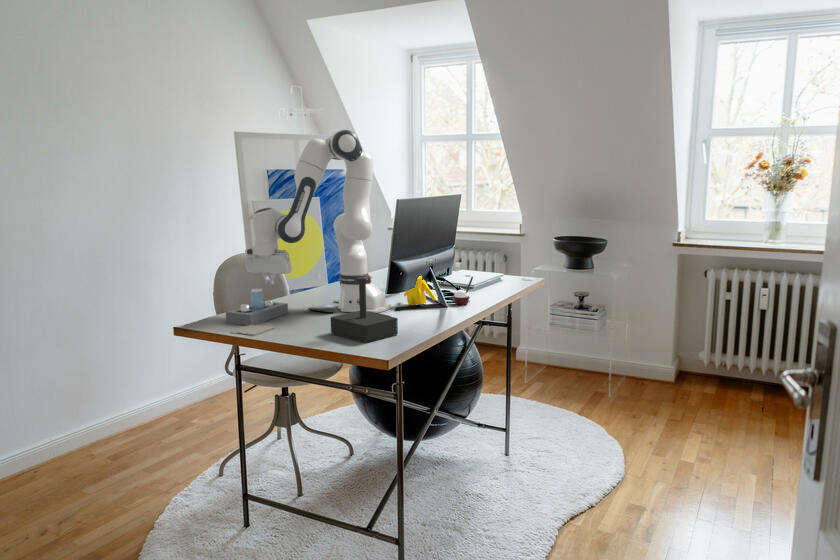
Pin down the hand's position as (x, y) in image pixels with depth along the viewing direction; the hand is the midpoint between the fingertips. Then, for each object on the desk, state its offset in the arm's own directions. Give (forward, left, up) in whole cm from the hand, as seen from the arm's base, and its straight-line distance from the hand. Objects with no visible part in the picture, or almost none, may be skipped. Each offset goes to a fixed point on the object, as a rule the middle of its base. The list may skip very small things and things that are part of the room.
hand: (270, 284), depth 251 cm
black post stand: (-51, +13, -13) cm, 54 cm away
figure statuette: (-46, -37, -12) cm, 61 cm away
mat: (-11, +25, -12) cm, 30 cm away
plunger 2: (+1, +1, -11) cm, 11 cm away
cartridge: (+1, +8, -12) cm, 14 cm away
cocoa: (-63, -45, -12) cm, 79 cm away
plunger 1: (+1, +15, -10) cm, 18 cm away
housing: (+1, +8, -12) cm, 14 cm away
